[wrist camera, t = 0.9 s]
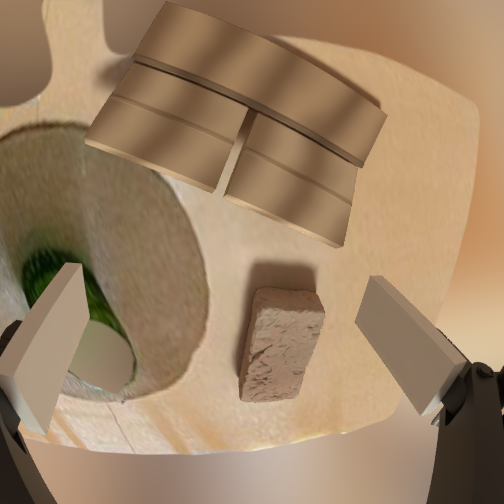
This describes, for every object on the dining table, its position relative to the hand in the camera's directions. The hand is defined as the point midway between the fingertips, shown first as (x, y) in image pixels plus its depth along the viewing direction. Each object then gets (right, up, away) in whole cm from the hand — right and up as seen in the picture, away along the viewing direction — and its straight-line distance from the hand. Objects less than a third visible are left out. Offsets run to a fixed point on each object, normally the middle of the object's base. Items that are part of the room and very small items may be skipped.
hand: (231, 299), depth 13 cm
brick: (+4, -10, +27) cm, 29 cm away
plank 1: (-6, +13, +11) cm, 19 cm away
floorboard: (+2, +19, +13) cm, 24 cm away
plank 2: (+5, +9, +15) cm, 18 cm away
